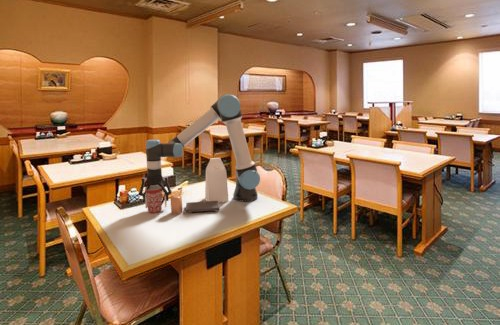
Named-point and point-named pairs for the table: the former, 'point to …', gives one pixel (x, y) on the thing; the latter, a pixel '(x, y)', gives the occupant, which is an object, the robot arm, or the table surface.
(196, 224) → the table surface
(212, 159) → the milk
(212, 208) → the board
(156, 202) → the mug
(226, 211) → the table surface
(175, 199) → the brown short cylinder
